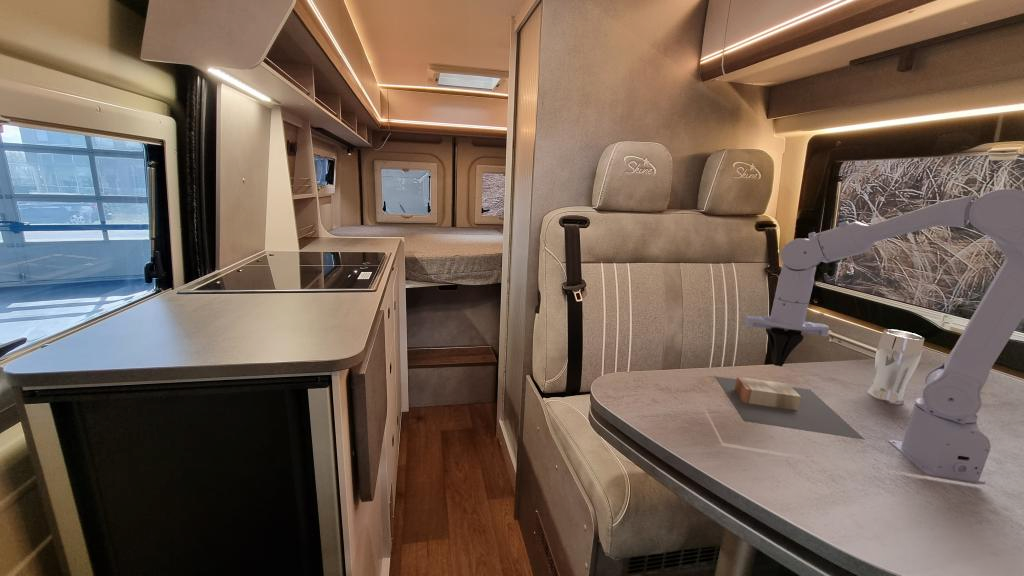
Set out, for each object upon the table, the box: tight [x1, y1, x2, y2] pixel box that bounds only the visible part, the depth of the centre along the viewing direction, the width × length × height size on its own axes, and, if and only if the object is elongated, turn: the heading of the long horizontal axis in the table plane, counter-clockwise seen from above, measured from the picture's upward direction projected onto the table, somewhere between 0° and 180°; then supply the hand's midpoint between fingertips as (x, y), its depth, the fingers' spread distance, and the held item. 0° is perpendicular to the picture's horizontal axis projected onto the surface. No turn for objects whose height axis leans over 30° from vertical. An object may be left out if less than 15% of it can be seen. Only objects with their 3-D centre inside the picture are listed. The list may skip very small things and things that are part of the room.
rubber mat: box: [715, 376, 865, 440], centre depth 86 cm, size 20×20×1 cm
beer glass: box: [867, 328, 925, 406], centre depth 91 cm, size 7×7×15 cm
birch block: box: [734, 376, 801, 410], centre depth 87 cm, size 6×3×10 cm
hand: (776, 364), depth 85 cm, fingers closed
